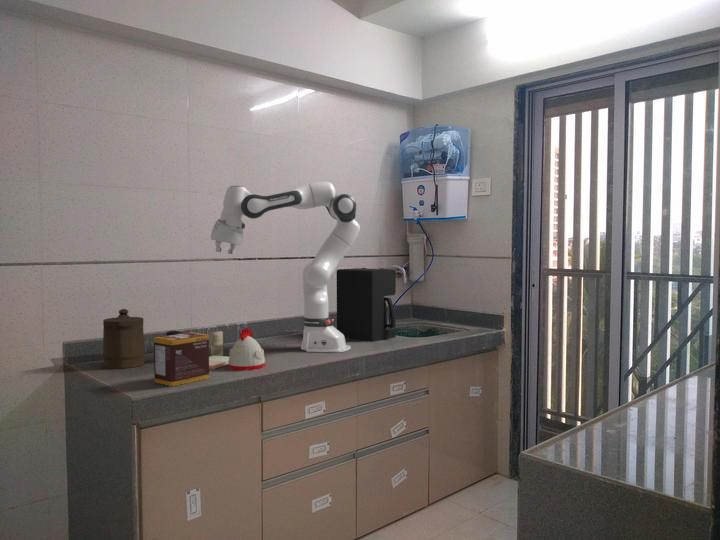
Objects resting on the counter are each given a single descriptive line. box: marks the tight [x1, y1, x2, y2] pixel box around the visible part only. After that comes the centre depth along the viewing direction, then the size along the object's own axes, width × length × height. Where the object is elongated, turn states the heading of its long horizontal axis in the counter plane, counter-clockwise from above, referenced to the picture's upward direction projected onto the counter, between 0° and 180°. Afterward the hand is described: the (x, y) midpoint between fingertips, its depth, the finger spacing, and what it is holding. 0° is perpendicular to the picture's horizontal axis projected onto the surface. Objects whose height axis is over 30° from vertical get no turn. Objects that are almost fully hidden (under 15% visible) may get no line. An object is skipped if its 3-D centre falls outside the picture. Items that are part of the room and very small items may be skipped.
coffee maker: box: [336, 267, 397, 343], centre depth 288 cm, size 28×20×35 cm
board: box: [209, 355, 230, 370], centre depth 224 cm, size 12×18×1 cm, turn 161°
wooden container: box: [102, 308, 145, 370], centre depth 222 cm, size 15×15×22 cm
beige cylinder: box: [210, 330, 224, 356], centre depth 241 cm, size 5×5×10 cm
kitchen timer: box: [227, 327, 266, 372], centre depth 218 cm, size 14×14×15 cm
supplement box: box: [153, 331, 210, 387], centre depth 195 cm, size 10×15×16 cm
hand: (224, 253), depth 247 cm, fingers open, 8 cm apart
